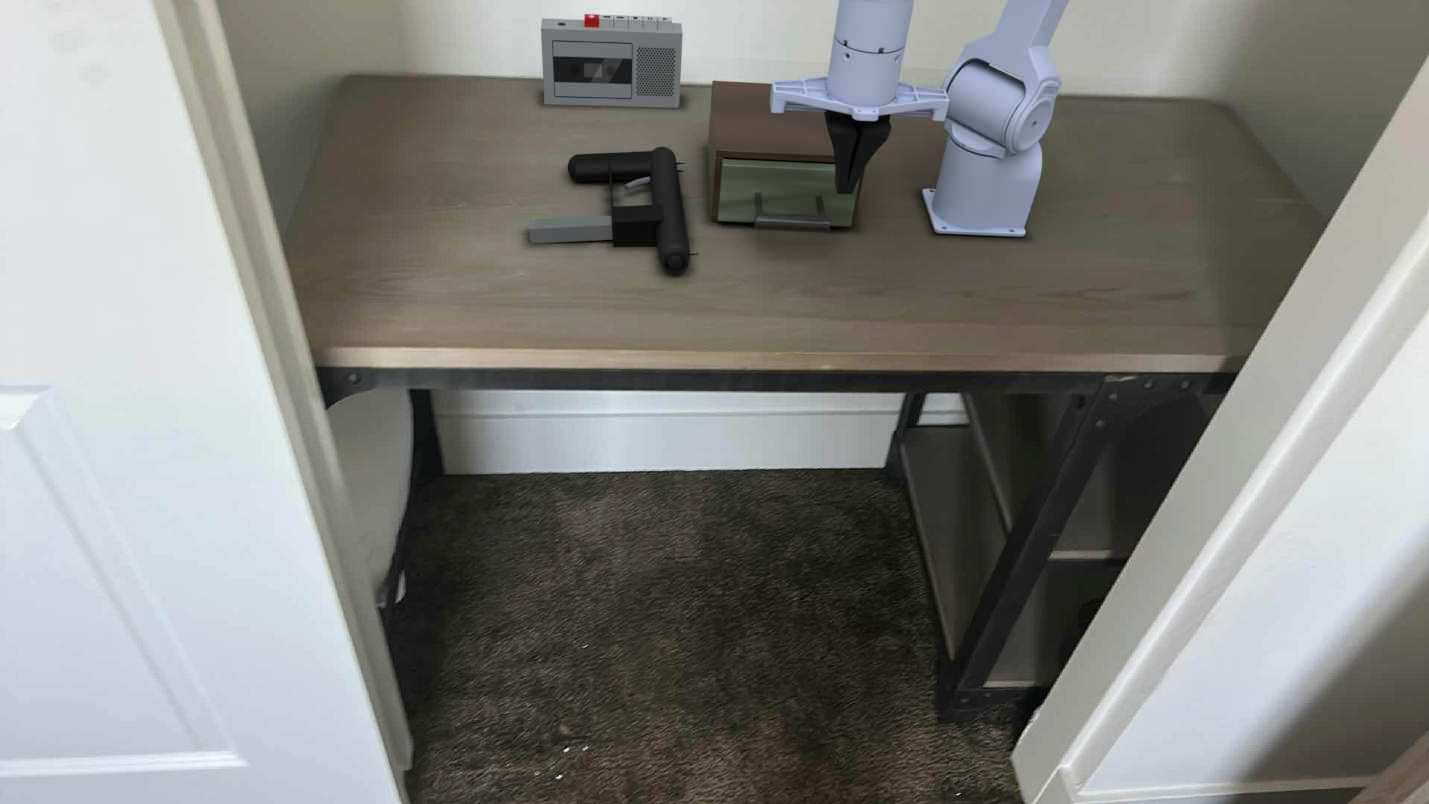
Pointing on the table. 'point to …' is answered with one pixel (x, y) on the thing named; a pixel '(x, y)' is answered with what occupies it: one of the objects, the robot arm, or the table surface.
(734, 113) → the cabinet
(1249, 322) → the table surface
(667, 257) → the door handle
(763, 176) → the drawer
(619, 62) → the cassette player
